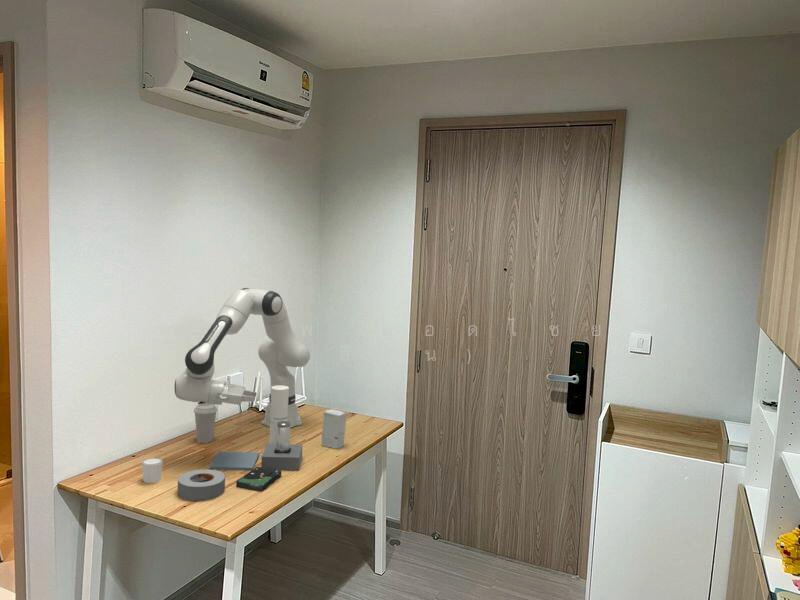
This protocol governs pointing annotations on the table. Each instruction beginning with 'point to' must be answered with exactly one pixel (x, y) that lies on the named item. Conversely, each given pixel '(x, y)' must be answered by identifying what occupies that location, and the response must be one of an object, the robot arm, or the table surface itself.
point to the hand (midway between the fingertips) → (255, 396)
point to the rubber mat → (234, 461)
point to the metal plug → (283, 437)
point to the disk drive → (258, 479)
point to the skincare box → (333, 428)
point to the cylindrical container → (278, 409)
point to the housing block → (281, 458)
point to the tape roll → (201, 485)
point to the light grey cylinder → (152, 470)
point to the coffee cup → (205, 422)
